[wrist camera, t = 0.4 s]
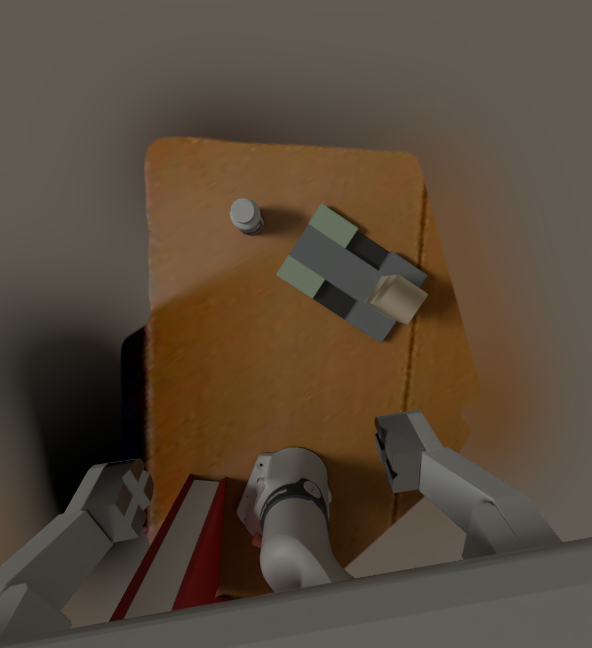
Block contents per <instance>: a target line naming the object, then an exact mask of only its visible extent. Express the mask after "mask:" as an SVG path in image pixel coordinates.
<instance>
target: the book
mask: <svg viewBox="0 0 592 648" xmlns="http://www.w3.org/2000/svg"><path fill="white" fill-rule="evenodd" d="M225 490H226V478H224V479H223V480H221V481H220V482H215V481H203V480H194V478H193V477H192V476H191V474H190V475H189V477H188V478H187V480H186V482H185V484H184V486H183V488H182V489H181V491H180V493H179V495H178V497H177V499H176V500H175V502H174V504H173V506H172V508H171V509H170V511H169V513H168V515H167V517H166V519H165V520H164V522H163V524H162V526H161V528H160V529H159V531H158V533H157V535H156V537H155V539H154V540H153V542H152V544H151V546H150V548H149V550H148V551H147V553H146V555H145V557H144V559H143V560H142V563H141V564H140V566H139V568H138V570H137V572H136V573H135V575H134V577H133V579H132V581H131V582H130V584H129V586H128V588H127V590H126V591H125V593H124V595H123V597H122V599H121V601H120V603H119V604H118V606H117V608H116V610H115V612H114V613H113V615H112V617H111V619H110V621H116V620H122V619H128V618H133V617H139V616H145V615H150V614H156V613H162V612H167V611H173V610H179V609H184V608H190V607H196V606H201V605H207V604H213V603H214V599H215V595H216V591H217V587H218V583H219V573H220V560H221V546H222V532H223V518H224V504H225ZM110 621H109V622H110Z"/></svg>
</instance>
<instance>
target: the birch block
mask: <svg viewBox="0 0 592 648" xmlns="http://www.w3.org/2000/svg"><path fill="white" fill-rule="evenodd" d="M427 296H428V294H427V293H425V292H424V291H422V290H421V289H420V288H418V287H417V286H415V285H414V284H412V283H411V282H409V281H408V280H406V279H405V278H403V277H402V276H400V275H390V276H382V277H381V278H380V280H379V281H378V283H377V284H376V286H375V287H374V289H373V290H372V292H371V293H370V295H369V296H368V298H367V299H366V301H365V303H367V304H368V305H370V306H371V307H373V308H374V309H376V310H377V311H379V312H380V313H382V314H383V315H385V316H386V317H388V318H390V319H392V320H395V321H398V322H401V323H404V324H407V325H408V323H409V322H410V320H411V319H412V318H413V316H414V315H415V313H416V312H417V310H418V309H419V307H420V306H421V305H422V303H423V302H424V300H425V299H426V297H427Z"/></svg>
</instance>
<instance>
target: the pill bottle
mask: <svg viewBox="0 0 592 648" xmlns="http://www.w3.org/2000/svg"><path fill="white" fill-rule="evenodd" d="M230 217H231V220H232V222H233V224H234V225H235V226H236V227H237V228H238V229H239V230H240V231H241V232H242V233H244V234H246V235H255V234H257V233H259V232H260V231H261V229H262V228H263V225H264V219H263V215H262V213H261V211H260V209H259V207H258V205H257V204H256V203H255V202H254V201H252V200H250V199H244V198H240V199H237V200H236V201H235V202H234V203H233V204H232V207H231V211H230Z"/></svg>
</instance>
